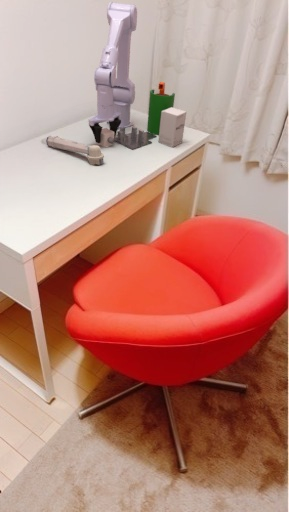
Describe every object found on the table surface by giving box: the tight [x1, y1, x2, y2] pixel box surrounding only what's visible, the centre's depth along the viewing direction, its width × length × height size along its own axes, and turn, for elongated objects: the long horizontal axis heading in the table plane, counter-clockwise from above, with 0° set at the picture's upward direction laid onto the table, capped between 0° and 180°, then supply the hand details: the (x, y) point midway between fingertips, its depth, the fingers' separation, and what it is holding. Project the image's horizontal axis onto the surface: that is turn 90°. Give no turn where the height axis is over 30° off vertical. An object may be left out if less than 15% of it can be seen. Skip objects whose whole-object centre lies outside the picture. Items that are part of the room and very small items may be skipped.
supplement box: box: [157, 106, 187, 148], centre depth 141 cm, size 7×7×13 cm
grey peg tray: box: [114, 125, 158, 151], centre depth 143 cm, size 12×17×4 cm
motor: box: [146, 81, 176, 136], centre depth 147 cm, size 10×9×20 cm
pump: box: [95, 127, 115, 148], centre depth 137 cm, size 7×5×5 cm
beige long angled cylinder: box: [45, 135, 105, 166], centre depth 129 cm, size 5×7×25 cm
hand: (105, 139), depth 139 cm, fingers open, 7 cm apart
